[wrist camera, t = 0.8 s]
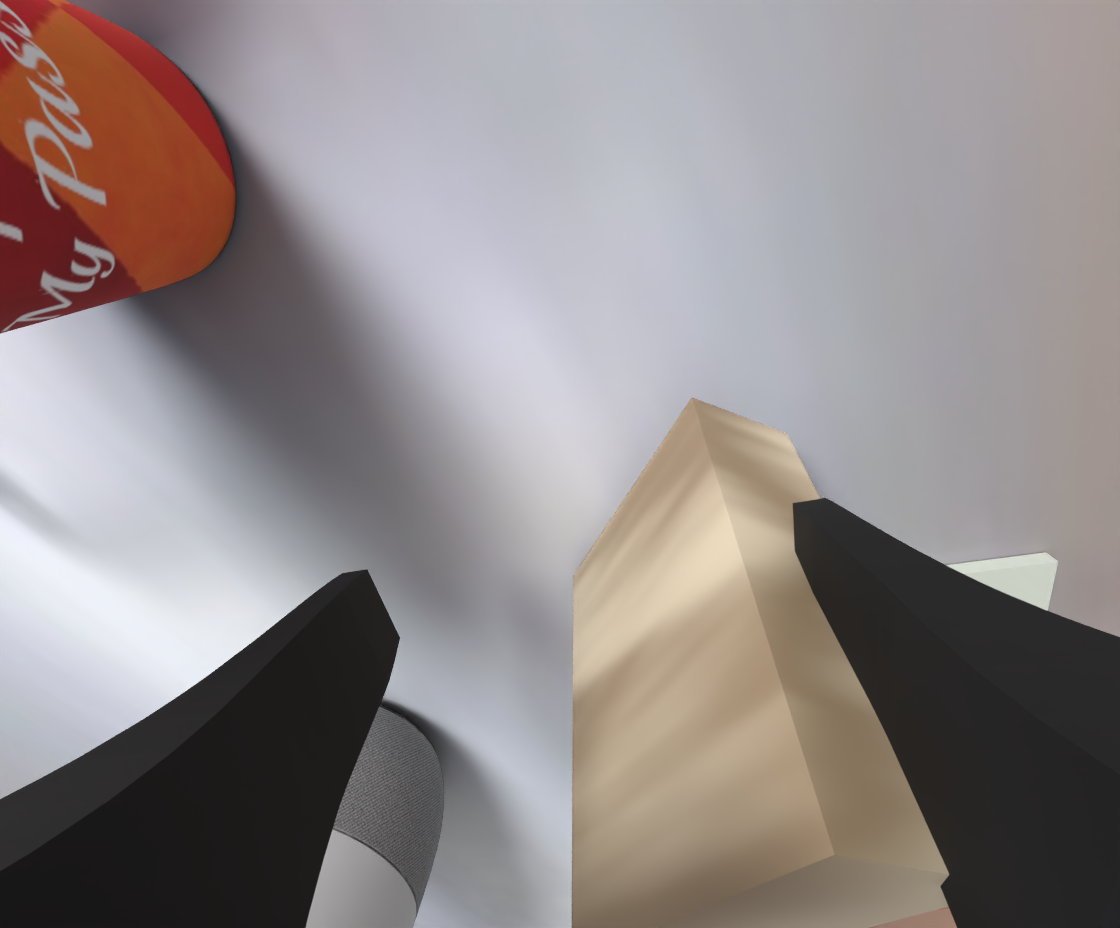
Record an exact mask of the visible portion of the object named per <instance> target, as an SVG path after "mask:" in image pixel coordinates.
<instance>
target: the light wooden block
mask: <svg viewBox="0 0 1120 928" xmlns="http://www.w3.org/2000/svg"><path fill="white" fill-rule="evenodd" d="M816 499H820V497H819V495H818V493H817V491H816V489H815V487H814V485H813V483H812V481H811V479H810V477H809V475H808V473H807V472H806V470H805V468H804V466H803V464H802V462H801V460H800V458H799V456H798V454H797V452H796V450H795V448H794V446H793V445H792V443H791V441H790V439H789V437H788V435H787V433H784V432H781V431H779V430H776V429H773V428H771V427H768V426H766V425H763V424H760V423H758V422H755V421H752V420H750V419H747V418H744V417H742V416H739V415H737V414H734V413H731V412H729V411H726V410H723V409H721V408H718V407H715V406H713V405H710V404H708V403H705V402H702V401H700V400H697V399H694V398H691V400H690V401H689V403H688V404H687V406H686V407H685V409H684V410H683V412H682V413H681V415H680V416H679V418H678V419H677V421H676V422H675V424H674V425H673V427H672V428H671V430H670V431H669V433H668V434H667V436H666V437H665V439H664V440H663V442H662V443H661V445H660V446H659V448H658V449H657V451H656V452H655V454H654V455H653V457H652V458H651V460H650V461H649V463H648V464H647V466H646V467H645V469H644V470H643V472H642V473H641V475H640V476H639V478H638V479H637V481H636V482H635V484H634V485H633V487H632V488H631V490H630V491H629V493H628V494H627V496H626V497H625V499H624V500H623V502H622V503H621V505H620V506H619V508H618V509H617V511H616V512H615V514H614V515H613V517H612V518H611V520H610V521H609V523H608V524H607V526H606V527H605V529H604V530H603V532H602V533H601V535H600V536H599V538H598V539H597V541H596V542H595V544H594V546H593V547H592V549H591V550H590V552H589V553H588V555H587V556H586V558H585V559H584V561H583V562H582V564H581V565H580V567H579V568H578V570H577V571H576V573H575V574H574V583H573V773H572V928H869V927H873V926H877V925H881V924H884V923H888V922H892V921H896V920H900V919H903V918H907V917H911V916H915V915H918V914H922V913H926V912H930V911H934V910H937V909H941V908H945V907H948V904H947V902H946V899H945V897H944V894H943V892H942V889H941V887H940V886H941V885H942V883H943V882H944V881H945V880H946V878H947V877H948V876H949V872H948V870H947V868H946V866H945V864H944V861H943V859H942V857H941V855H940V853H939V850H938V848H937V846H936V844H935V841H934V839H933V837H932V835H931V833H930V830H929V828H928V826H927V824H926V821H925V819H924V817H923V815H922V813H921V810H920V808H919V806H918V804H917V802H916V799H915V797H914V795H913V793H912V790H911V788H910V786H909V784H908V782H907V779H906V777H905V775H904V773H903V770H902V768H901V766H900V764H899V762H898V759H897V757H896V755H895V753H894V751H893V748H892V746H891V744H890V742H889V739H888V737H887V735H886V733H885V731H884V729H883V727H882V725H881V723H880V721H879V719H878V717H877V715H876V713H875V711H874V709H873V707H872V705H871V703H870V701H869V699H868V697H867V695H866V694H865V692H864V690H863V688H862V686H861V684H860V682H859V680H858V678H857V676H856V674H855V672H854V671H853V669H852V667H851V665H850V663H849V661H848V659H847V657H846V655H845V653H844V651H843V649H842V648H841V646H840V644H839V642H838V640H837V638H836V636H835V634H834V632H833V630H832V628H831V626H830V625H829V623H828V621H827V619H826V617H825V615H824V613H823V611H822V609H821V607H820V605H819V604H818V602H817V600H816V598H815V596H814V594H813V592H812V589H811V587H810V585H809V582H808V580H807V578H806V576H805V573H804V571H803V569H802V566H801V564H800V562H799V559H798V557H797V555H796V553H795V545H794V522H793V503H797V502H803V501H809V500H816Z"/></svg>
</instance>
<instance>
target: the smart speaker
mask: <svg viewBox="0 0 1120 928" xmlns="http://www.w3.org/2000/svg"><path fill="white" fill-rule="evenodd" d="M443 807H444V784H443V776H442V771H441V767H440V763H439V759H438V757H437V754H436V752H435V750H434V748H433V747H432V745H431V744H430V742H429V741H428V739H427V738H426V737H425V736H424V735H423V733H422V732H421V731H420V730H419V729H418V728H417V727H416V726H415V725H414V724H412V723H411V722H410V721H409V720H407V719H406V718H405V717H403V716H401V715H400V714H398V713H396V712H395V711H393V710H391V709H389V708H387V707H385V706H383V705H380V706H379V708H378V711H377V713H376V716H375V718H374V721H373V723H372V726H371V728H370V731H369V733H368V735H367V738H366V740H365V743H364V745H363V748H362V750H361V753H360V755H359V757H358V760H357V762H356V765H355V767H354V770H353V772H352V775H351V777H350V780H349V782H348V785H347V787H346V790H345V793H344V796H343V798H342V801H341V804H340V807H339V810H338V813H337V816H336V820H335V823H334V826H333V830H332V833H331V836H330V840H329V843H328V846H327V850H326V853H325V856H324V860H323V863H322V867H321V871H320V875H319V878H318V882H317V886H316V889H315V893H314V897H313V901H312V904H311V908H310V912H309V916H308V920H307V924H306V928H413V925H414V922H415V919H416V916H417V913H418V910H419V907H420V904H421V901H422V898H423V895H424V891H425V888H426V885H427V882H428V879H429V875H430V872H431V869H432V865H433V861H434V858H435V854H436V851H437V846H438V842H439V837H440V832H441V826H442V818H443Z"/></svg>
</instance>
